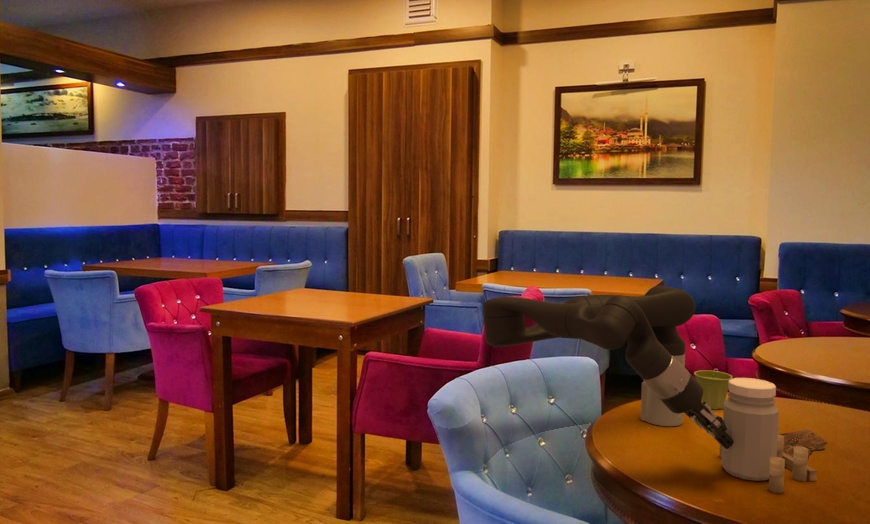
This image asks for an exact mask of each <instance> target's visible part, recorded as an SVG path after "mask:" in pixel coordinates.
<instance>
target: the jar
mask: <svg viewBox="0 0 870 524" xmlns="http://www.w3.org/2000/svg"><path fill="white" fill-rule="evenodd" d="M728 391H729V392H727V396H728V398H726V401H725V402H724V408H723V413H722V414H723V415H722V419H723V421H724V423H725V425H726V428H727V430H726V431H725V432H726V433H727V434H728V435H729V436H730V437H731V438H732V439H733V441H734V443H733V444H732V445H731V446H730V447H729V448H728V449H726V448H724V447H722V459H721V461H720V462H721V465H722V468H724V470H725V471H726V473H728V474H730V475H731V476H733V477H736V478H738V477H739V479H741V480H747V481H754V482H760V481H768V480H769V470H770V457H773V456H775V457H777V442H778V434H779V420H780V419H779V417H780V416H779V415H780V411H779V409H778V408H777V406H776V404H775V403H776V400H775V398H774V397H776V395H777V392H776V391H777V386H776V384H774V383H773V382H770V381H767V380H765V379H758V378H751V377H734V378H732V379H731V380H729V382H728Z"/></svg>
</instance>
